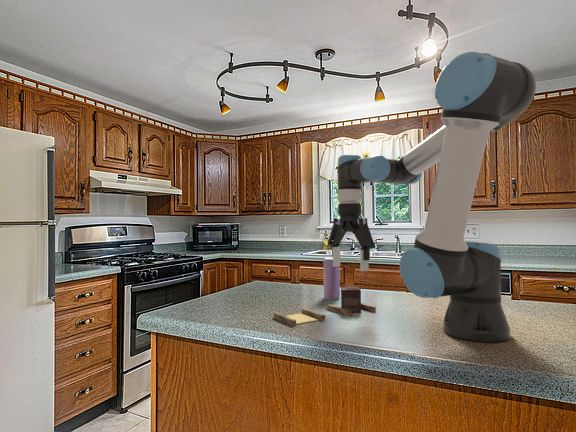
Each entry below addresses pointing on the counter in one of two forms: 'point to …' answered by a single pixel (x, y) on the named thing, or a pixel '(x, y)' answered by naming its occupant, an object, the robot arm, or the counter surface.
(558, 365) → the counter surface
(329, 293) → the beverage can
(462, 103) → the robot arm
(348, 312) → the notch rack
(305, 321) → the pad
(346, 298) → the box
